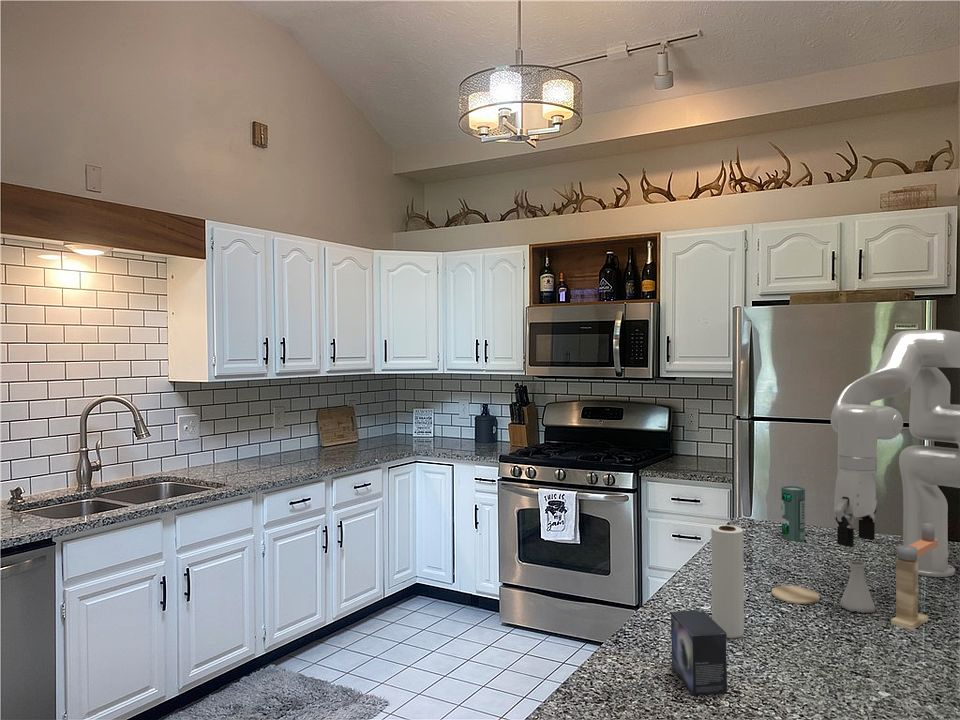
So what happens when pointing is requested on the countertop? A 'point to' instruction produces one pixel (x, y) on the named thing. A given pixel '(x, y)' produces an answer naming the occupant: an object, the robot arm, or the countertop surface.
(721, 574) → the paper towel roll
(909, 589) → the post
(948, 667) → the countertop surface
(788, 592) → the coaster
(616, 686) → the countertop surface
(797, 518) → the can
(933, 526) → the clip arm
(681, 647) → the small box
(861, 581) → the flask
